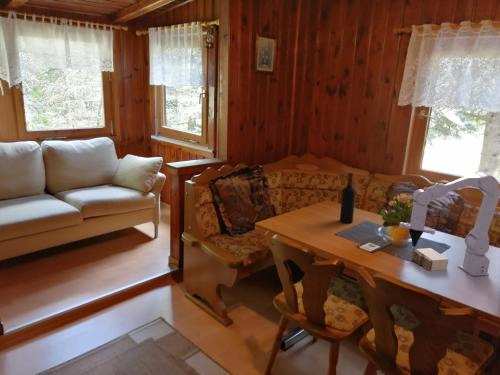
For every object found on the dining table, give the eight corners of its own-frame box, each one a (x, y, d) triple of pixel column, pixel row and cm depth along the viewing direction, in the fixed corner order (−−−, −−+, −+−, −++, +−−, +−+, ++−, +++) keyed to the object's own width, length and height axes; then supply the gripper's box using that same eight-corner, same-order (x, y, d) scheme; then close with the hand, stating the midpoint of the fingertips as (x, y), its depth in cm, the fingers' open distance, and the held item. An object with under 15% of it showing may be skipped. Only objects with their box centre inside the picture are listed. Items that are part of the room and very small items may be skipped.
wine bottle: (337, 220, 225) (341, 172, 217) (347, 218, 228) (351, 171, 220) (345, 224, 218) (349, 175, 211) (355, 222, 221) (360, 174, 214)
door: (421, 266, 167) (423, 256, 166) (419, 266, 167) (421, 256, 166) (413, 258, 175) (415, 249, 173) (411, 258, 175) (413, 249, 173)
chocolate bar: (392, 243, 191) (372, 252, 180) (392, 244, 191) (372, 253, 180) (376, 237, 198) (356, 246, 186) (376, 239, 198) (356, 247, 187)
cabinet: (446, 269, 165) (448, 259, 163) (426, 270, 163) (428, 260, 161) (429, 257, 176) (430, 248, 175) (410, 259, 174) (411, 249, 173)
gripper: (438, 218, 161) (433, 246, 164) (403, 211, 169) (400, 238, 173) (434, 222, 155) (430, 252, 159) (399, 215, 164) (395, 243, 167)
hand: (414, 245), depth 165 cm, fingers closed
